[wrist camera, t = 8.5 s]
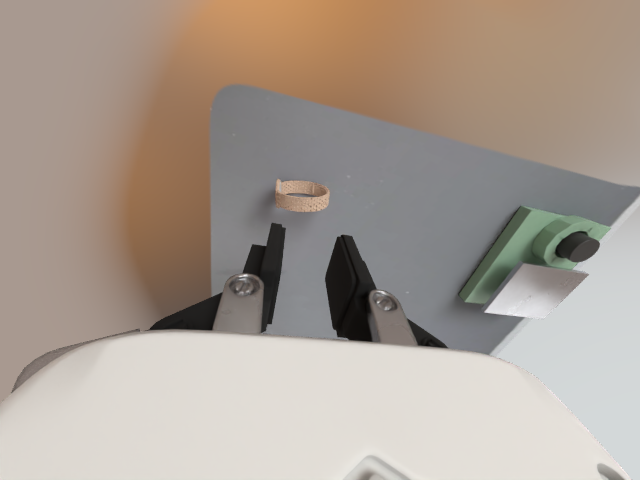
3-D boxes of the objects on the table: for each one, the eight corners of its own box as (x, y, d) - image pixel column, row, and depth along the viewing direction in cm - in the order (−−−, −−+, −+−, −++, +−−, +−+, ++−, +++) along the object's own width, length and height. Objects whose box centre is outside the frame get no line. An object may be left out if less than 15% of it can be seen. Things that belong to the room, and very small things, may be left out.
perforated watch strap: (278, 172, 22) (273, 187, 17) (327, 176, 22) (334, 191, 18) (278, 198, 23) (274, 219, 19) (324, 201, 24) (330, 222, 19)
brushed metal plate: (519, 260, 26) (523, 263, 26) (584, 271, 28) (589, 274, 27) (480, 309, 30) (483, 312, 29) (539, 315, 32) (544, 319, 31)
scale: (523, 201, 26) (548, 212, 23) (601, 219, 28) (632, 231, 25) (458, 294, 32) (472, 311, 30) (524, 303, 35) (543, 318, 32)
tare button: (568, 229, 25) (585, 237, 23) (588, 234, 25) (606, 242, 24) (548, 252, 26) (564, 260, 25) (568, 255, 27) (584, 264, 25)
